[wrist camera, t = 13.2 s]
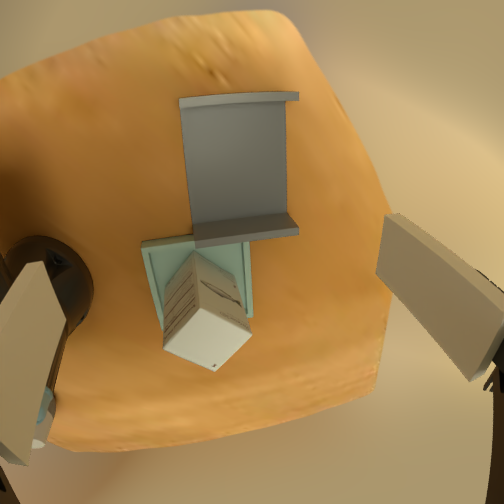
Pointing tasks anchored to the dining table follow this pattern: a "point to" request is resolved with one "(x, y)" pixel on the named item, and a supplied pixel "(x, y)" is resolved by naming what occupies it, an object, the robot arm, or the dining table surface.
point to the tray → (175, 254)
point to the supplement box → (203, 314)
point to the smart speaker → (44, 426)
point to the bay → (237, 166)
